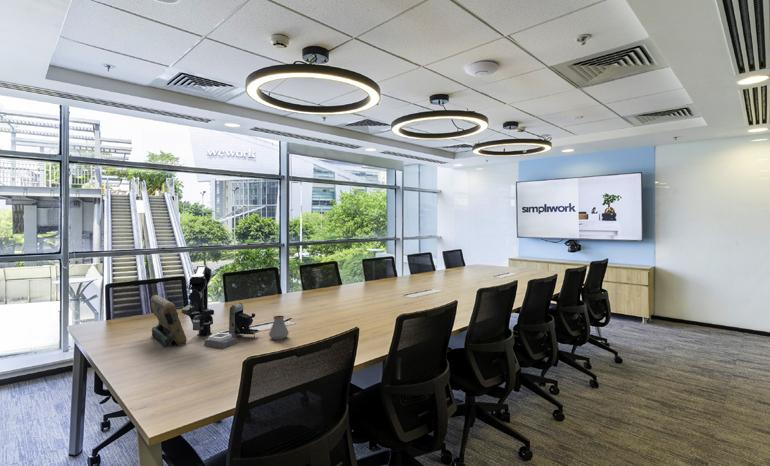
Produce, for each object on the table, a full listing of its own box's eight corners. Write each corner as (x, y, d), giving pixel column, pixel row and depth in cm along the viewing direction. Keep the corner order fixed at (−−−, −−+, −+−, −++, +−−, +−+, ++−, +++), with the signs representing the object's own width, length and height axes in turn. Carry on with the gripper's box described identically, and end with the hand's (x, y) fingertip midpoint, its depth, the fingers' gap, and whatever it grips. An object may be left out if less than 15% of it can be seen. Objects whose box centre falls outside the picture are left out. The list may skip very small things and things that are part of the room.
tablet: (192, 343, 226) (192, 299, 225) (166, 349, 215) (165, 303, 214) (170, 332, 247) (169, 292, 246) (145, 336, 237) (144, 295, 236)
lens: (190, 329, 217) (190, 316, 217) (198, 327, 222) (198, 314, 221) (197, 331, 215) (197, 317, 215) (205, 328, 220) (205, 315, 219)
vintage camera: (251, 341, 231) (253, 307, 231) (227, 338, 234) (229, 305, 234) (260, 336, 241) (261, 304, 240) (237, 334, 244) (238, 302, 243)
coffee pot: (265, 337, 237) (265, 312, 237) (283, 334, 245) (283, 310, 244) (282, 346, 221) (282, 319, 221) (300, 342, 229) (300, 316, 229)
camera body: (204, 345, 222) (204, 336, 222) (217, 340, 232) (217, 331, 231) (223, 348, 217) (223, 339, 217) (236, 343, 226) (236, 334, 226)
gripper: (172, 299, 214) (173, 328, 215) (197, 303, 207) (197, 332, 207) (190, 296, 224) (190, 323, 225) (214, 299, 217) (214, 327, 217)
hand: (197, 326), depth 218 cm, fingers closed on lens, 5 cm apart
